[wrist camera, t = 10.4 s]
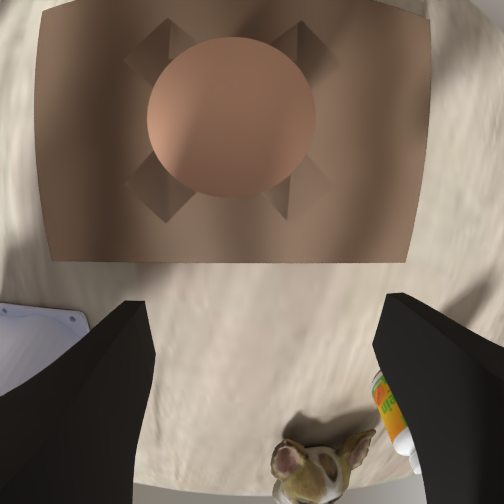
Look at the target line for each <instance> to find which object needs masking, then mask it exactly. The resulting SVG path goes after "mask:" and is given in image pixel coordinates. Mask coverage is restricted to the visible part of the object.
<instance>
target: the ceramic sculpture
mask: <svg viewBox="0 0 504 504" xmlns="http://www.w3.org/2000/svg"><path fill="white" fill-rule="evenodd" d="M375 433H376V430H374V429H372V430H368V431H365V432H362V433H359V434H356V435H354V436H351V437H349V438H347V439H346V440H345V441H344V442H343V443H342V445H341V447H340V449H339V450H338V451H336V450H334V449H333V448H330V447H325V446H322V447H311V448H304V447H303V446H302V445H301V444H299V443H297V442H295V441H292V440H289V439H284V440H283V441H282V442H281V443H280V444H278V445H277V446H276V448H275V450H274V452H273V454H272V459H271V473H272V474H273V476H274V477H275V478H277V481H276V483H275V484H274V487H273V492H272V496H273V499H274V500H275V501H276V502H277V503H278V504H334V502H335V501H336V500H338V499H339V498H340V497H341V496H342V495H343V492H344V491H345V490H346V489H347V488H348V485H349V478H350V473H351V470H353V469H355V468H357V467H358V466H360V465H361V464H362V461H363V459H364V458H365V457H366V456H367V453H368V451H369V450H368V447H369V446H370V442H371V437H373V436H374V435H375Z"/></svg>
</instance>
